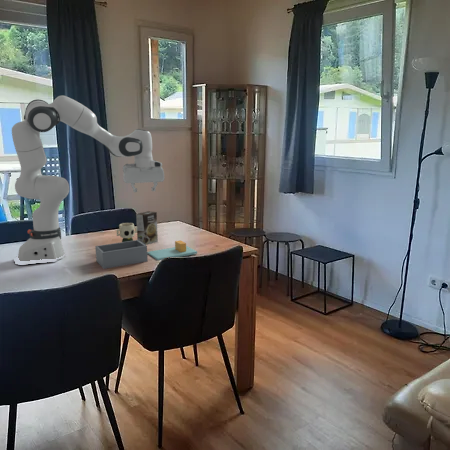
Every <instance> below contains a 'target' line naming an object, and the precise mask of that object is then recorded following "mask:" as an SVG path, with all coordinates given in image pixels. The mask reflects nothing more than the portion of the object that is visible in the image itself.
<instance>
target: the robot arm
mask: <svg viewBox="0 0 450 450" xmlns="http://www.w3.org/2000/svg"><path fill="white" fill-rule="evenodd" d="M60 122H62V123H64V124H65V125H67V126H69V127H70V128H72V129H74V130H75V131H78V132H79V133H82V134H85V135H87V136H90V137H91V138H93V139H95V140H96V141H98V142H99V143H100V144H102V145H104V146H105V148H106V149H107V150H108V152H109V153H110V154H111V155H112V156H114V157H117V158H124V157H125V158H130V157H133V156H134V160H133V161H134V162H133V163H126V164H124V165H123V166H122V172H123V175H122V176H123V178H122V179H123V180H122V181H123V182H124V184H130V186H131V188H132V192H133V193H137V192H138V188H137V187H135V185H136V184H139V183H140V184H141V183H143V184H144V183H153V186H152V187H151V192H156V188H157V187H158V183H163V182H164V181H165V171H164V168H163V163H162V162H160V161H157V160H154V158H153V153H152V151H153V138H152V134H151V132H150V131H148V130H146V129H141V128H138V129H135V130H133V132H131V133H129V134H126V135H124V136H123V135H122V136H120V135H115V134H112V133H110V131H108V130H106V129H105V128H103V127H102V126H100V125H99V123H98V118H97V116H96V113H94V112H93V111H92V110H91V109H90V108H88V107H87V106H85V105H84V104H83V103H80V102H78V101H77V100H75V99H73V98H71V97H68V96H67V95H58V96H57V97H56V98H55V99H54V100H53V101H52V102H51V103H48V102H47V101H45V100H42V99H37V98H36V99H34V100H32V101H30V102H28V103H27V105H26V108H25V110H24V115H23V120H22V121H19V122H17V123H15V124H13V125H12V127H11V137H12V141H13V145H14V149H15V152H16V155H17V158H18V161H19V166H20V173H19V174H20V175H19V176H18V178H17V179H16V181H15V183H14V190H15V193H16V194H17V195H18V196H19V197H22V198H25V199H28V200H29V199H31V200H39V201H40V203H39V207H37V208H36V209H35V210H33V211H32V215H31V218H32V224H33V225H32V227H33V229H28V230H27V234H29V238H28V239H27V240H26V241H25V242H24V243H23V244H21V245H20V247H19V249H18V254H17V255H18V258H19V260H20V261H30V260H40V259H41V260H42V259H56V258H59V257H61V256H63V255H64V254H65V255H66V252H65V250H64V247H63V243H62V230H61V227H60V223H59V209H60V205H61V203H62V202H63V200H64V199H65V198H67V197H68V195H69V193H70V184H69V181H68V180H67V179H66V178H64V177H62V176H61V177H60V176H58V175H46V174H45V175H44V174H42V170H41V169H43V168H44V167H45V165H46V164H47V162H48V159H47V155H46V153H45V149H44V146H43V143H42V139H41V136H40V135H41V134H40V133H47V132H49V131H51V130H52V129H53V128H55V127H56V126H57V125H58V124H59V123H60Z"/></svg>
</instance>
